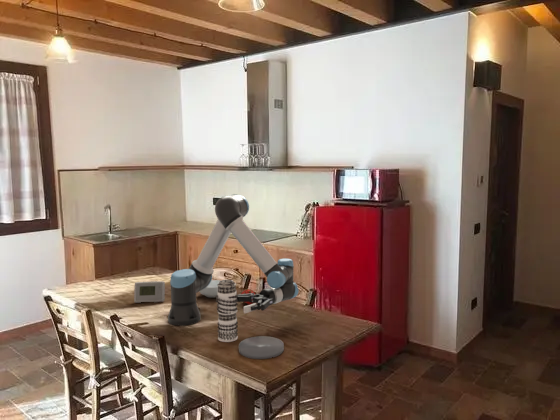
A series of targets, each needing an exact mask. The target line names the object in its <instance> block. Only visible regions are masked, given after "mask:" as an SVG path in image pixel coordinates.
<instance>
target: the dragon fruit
mask: <svg viewBox="0 0 560 420" xmlns="http://www.w3.org/2000/svg"><path fill="white" fill-rule="evenodd" d="M249 293H254V295H255V294H258V293H257V292H255V291H254V290H252V289H251V288H246V289H243V290H242V292H241V293H240V294H249ZM252 301H253V299H252ZM242 303H243V304H247V305H251V304H253V303H250V302H242Z"/></svg>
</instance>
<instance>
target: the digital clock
mask: <svg viewBox="0 0 560 420" xmlns="http://www.w3.org/2000/svg"><path fill="white" fill-rule="evenodd" d="M165 287H166V284H165V281H164V280H162V281H161V280H160V281H157V280H155V281H154V280H153V281H137V282H134V291H133V293H134V294H133V295H134V296H133V298H134V299H133V303H140V304H142V303H141V302H154V303H161V302H165V295H166V294H165V292H166V289H165Z"/></svg>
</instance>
